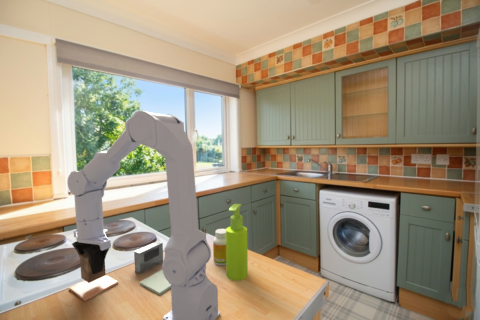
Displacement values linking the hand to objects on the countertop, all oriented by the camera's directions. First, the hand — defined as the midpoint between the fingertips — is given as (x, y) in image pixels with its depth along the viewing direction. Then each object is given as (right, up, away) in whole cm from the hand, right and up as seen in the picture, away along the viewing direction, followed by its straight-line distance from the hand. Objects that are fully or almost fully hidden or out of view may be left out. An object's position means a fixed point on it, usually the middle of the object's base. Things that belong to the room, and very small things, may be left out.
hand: (93, 269), depth 61 cm
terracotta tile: (0, -5, 0) cm, 5 cm away
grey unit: (+11, -4, +10) cm, 15 cm away
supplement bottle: (+32, -4, +13) cm, 35 cm away
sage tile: (+17, -4, +2) cm, 18 cm away
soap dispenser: (+37, -4, +5) cm, 37 cm away
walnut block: (0, -2, 0) cm, 2 cm away
